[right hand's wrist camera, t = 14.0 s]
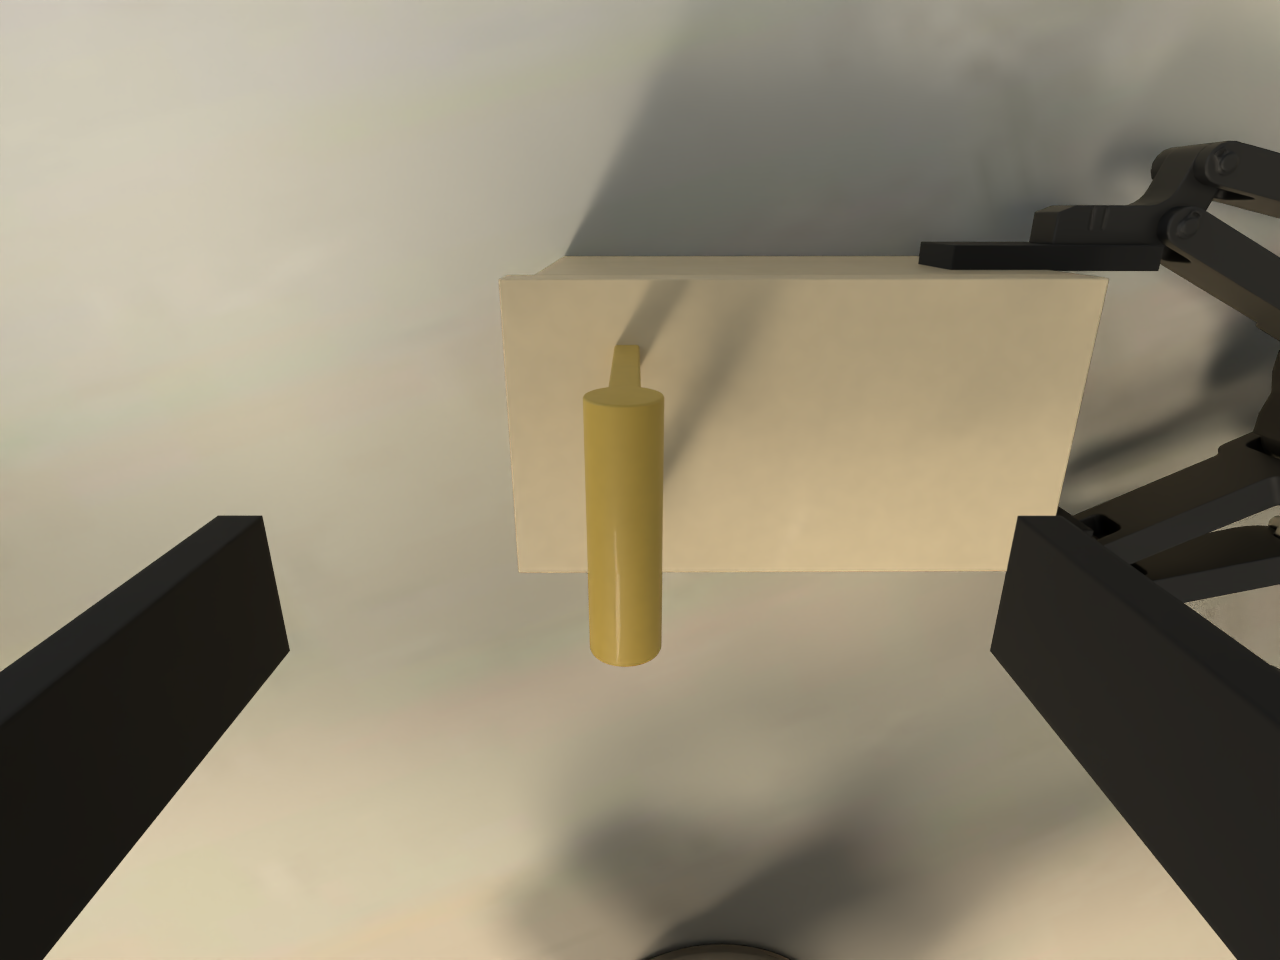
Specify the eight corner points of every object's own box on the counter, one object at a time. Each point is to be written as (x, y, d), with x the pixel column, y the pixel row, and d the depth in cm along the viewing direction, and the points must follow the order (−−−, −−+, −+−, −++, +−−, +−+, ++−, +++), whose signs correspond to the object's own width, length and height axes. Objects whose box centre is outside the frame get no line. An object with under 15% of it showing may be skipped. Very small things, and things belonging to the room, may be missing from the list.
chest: (570, 462, 32) (547, 555, 24) (563, 256, 29) (532, 274, 20) (918, 461, 32) (1023, 553, 24) (948, 255, 29) (1081, 274, 21)
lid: (524, 555, 24) (467, 731, 16) (506, 274, 20) (423, 315, 12) (1023, 553, 24) (1221, 727, 16) (1083, 274, 20) (1368, 314, 12)
